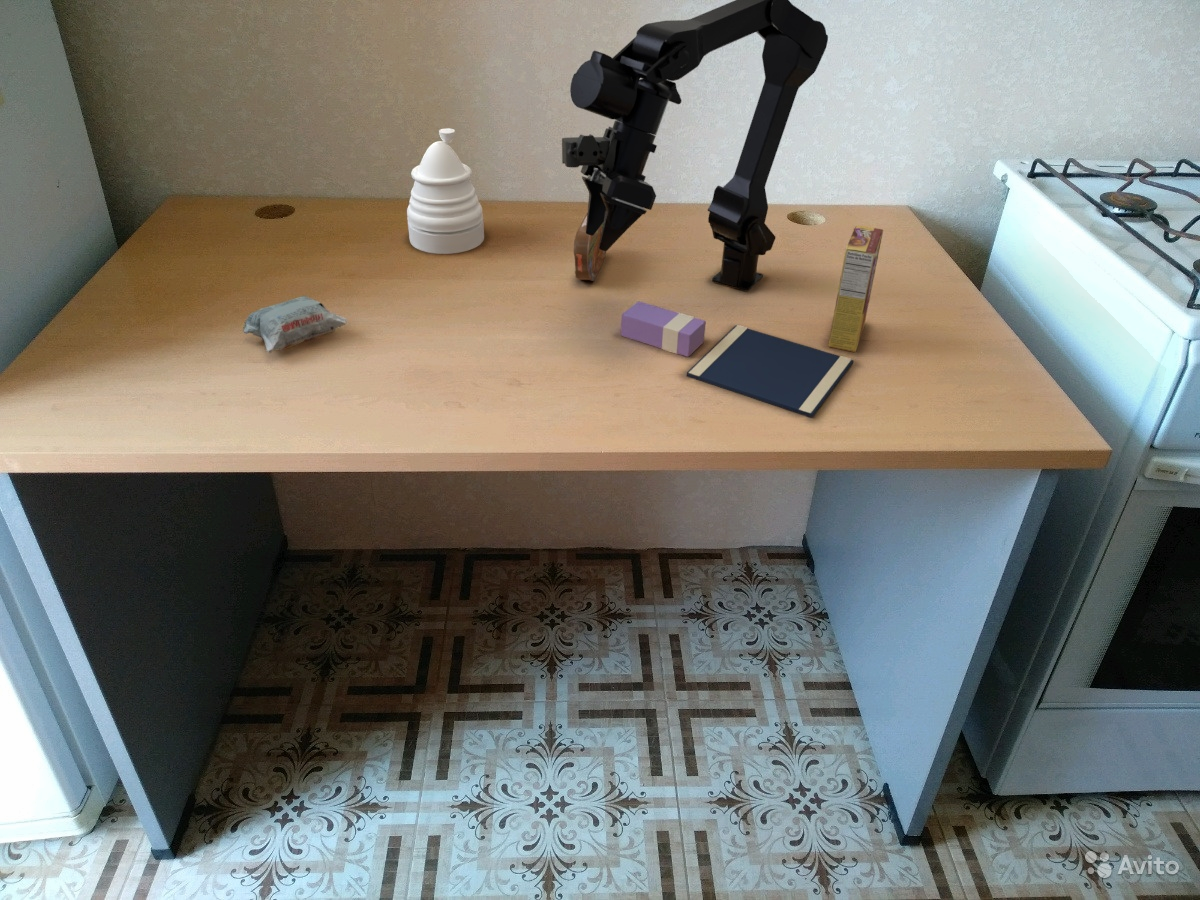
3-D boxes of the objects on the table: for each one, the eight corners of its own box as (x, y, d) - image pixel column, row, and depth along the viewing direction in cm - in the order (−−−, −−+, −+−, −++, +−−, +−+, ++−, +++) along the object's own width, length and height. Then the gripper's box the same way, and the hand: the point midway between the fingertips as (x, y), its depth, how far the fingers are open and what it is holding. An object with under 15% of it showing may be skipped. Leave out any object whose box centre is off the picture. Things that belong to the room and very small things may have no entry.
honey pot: (445, 218, 162) (437, 117, 151) (499, 236, 156) (494, 132, 145) (393, 240, 153) (381, 135, 142) (448, 260, 147) (439, 152, 136)
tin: (590, 289, 140) (591, 239, 135) (570, 287, 141) (570, 237, 136) (608, 251, 152) (610, 203, 147) (590, 249, 152) (591, 201, 147)
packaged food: (349, 336, 126) (344, 305, 123) (270, 364, 120) (262, 332, 117) (320, 315, 131) (314, 284, 128) (243, 340, 125) (235, 308, 122)
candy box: (835, 319, 134) (855, 223, 125) (864, 325, 133) (886, 228, 124) (825, 347, 127) (845, 247, 118) (855, 353, 126) (878, 253, 117)
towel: (735, 328, 131) (736, 324, 131) (852, 363, 124) (853, 359, 123) (686, 376, 120) (686, 371, 120) (812, 418, 113) (812, 413, 112)
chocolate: (637, 322, 132) (638, 300, 130) (704, 342, 128) (706, 320, 125) (620, 336, 129) (621, 314, 126) (687, 357, 124) (690, 335, 122)
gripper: (565, 100, 121) (530, 210, 127) (592, 114, 105) (550, 240, 111) (639, 127, 125) (602, 233, 131) (676, 145, 109) (631, 266, 114)
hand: (595, 242), depth 121 cm, fingers open, 9 cm apart
